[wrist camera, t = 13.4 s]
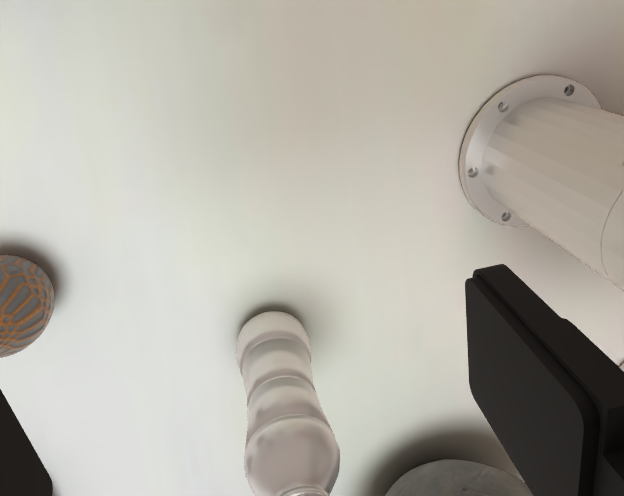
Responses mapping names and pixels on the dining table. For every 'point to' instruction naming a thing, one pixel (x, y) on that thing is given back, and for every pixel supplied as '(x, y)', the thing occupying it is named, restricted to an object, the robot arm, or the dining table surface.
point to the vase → (22, 303)
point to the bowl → (458, 480)
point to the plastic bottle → (284, 411)
